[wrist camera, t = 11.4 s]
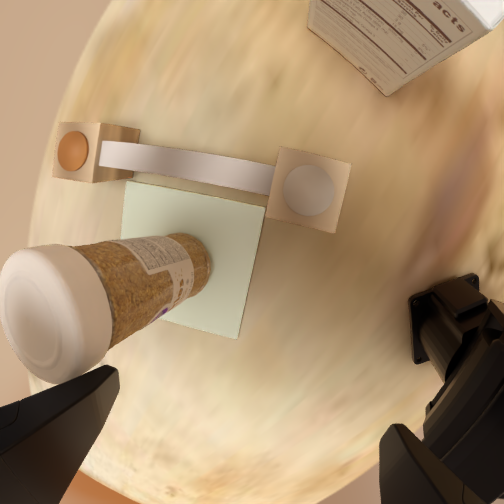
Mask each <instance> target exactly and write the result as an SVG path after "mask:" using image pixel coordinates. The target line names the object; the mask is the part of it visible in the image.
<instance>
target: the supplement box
mask: <svg viewBox="0 0 504 504" xmlns="http://www.w3.org/2000/svg"><path fill="white" fill-rule="evenodd" d="M503 19H504V0H310V3H309V13H308V23H307V27H308V28H309V29H310V30H312V31H313V32H314V33H315V34H317V35H318V36H319V37H320V38H322V39H323V40H324V41H325V42H327V43H328V44H329V45H330V46H331V47H333V48H334V49H335V50H336V51H338V52H339V53H340V54H341V55H342V56H343V57H344V58H346V59H347V60H348V61H349V62H350V63H351V64H352V65H353V66H355V67H356V68H357V69H358V70H359V71H360V72H361V73H362V74H363V75H364V76H365V77H366V78H367V79H368V80H370V81H371V82H372V83H373V84H374V85H375V86H376V87H377V88H378V89H379V90H380V91H381V92H382V93H383V94H384V95H385V96H389V95H391V94H392V93H394V92H395V91H396V90H398V89H399V88H401V87H402V86H404V85H405V84H407V83H408V82H410V81H411V80H413V79H414V78H416V77H418V76H419V75H421V74H422V73H424V72H426V71H427V70H429V69H430V68H432V67H434V66H435V65H437V64H438V63H440V62H442V61H443V60H445V59H447V58H448V57H450V56H452V55H454V54H455V53H457V52H459V51H460V50H462V49H464V48H465V47H467V46H469V45H470V44H472V43H473V42H475V41H477V40H478V39H480V38H481V37H483V36H484V35H486V34H488V33H489V32H491V31H492V30H493V29H494V28H495V27H496V26H497V25H498V24H499V23H500V22H501V21H502V20H503Z"/></svg>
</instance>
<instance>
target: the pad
mask: <svg viewBox="0 0 504 504" xmlns="http://www.w3.org/2000/svg"><path fill="white" fill-rule="evenodd" d="M265 210H266V207H262V206H258V205H253V204H249V203H244V202H239V201H235V200H230V199H225V198H220V197H215V196H210V195H205V194H200V193H195V192H190V191H184V190H179V189H174V188H168V187H163V186H157V185H151V184H146V183H140V182H134V181H126V188H125V196H124V206H123V216H122V227H121V239H129V238H138V237H147V236H167V235H169V234H174V233H185V234H189V235H191V236H193V237H195V238H196V239H197V240H199V241H200V242H201V243H202V244H203V246H204V247H205V249H206V251H207V253H208V256H209V258H210V265H211V271H210V276H209V279H208V282H207V284H206V285H205V287H204V288H203V290H202V291H200V292H199V293H198V294H197V295H195V296H193V297H190V298H187V299H186V300H184V301H183V302H182V303H181V304H180V305H178V306H177V307H175V308H173V309H172V310H170V311H169V312H167V313H165V314H164V315H162V316H161V317H159V319H163V320H166V321H169V322H173V323H176V324H180V325H183V326H187V327H190V328H194V329H197V330H201V331H205V332H209V333H212V334H216V335H220V336H224V337H228V338H232V339H236V340H237V338H238V334H239V329H240V325H241V320H242V316H243V311H244V307H245V302H246V297H247V293H248V288H249V284H250V279H251V274H252V270H253V265H254V261H255V256H256V251H257V247H258V242H259V238H260V233H261V228H262V224H263V219H264V214H265Z"/></svg>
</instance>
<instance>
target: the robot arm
mask: <svg viewBox="0 0 504 504" xmlns="http://www.w3.org/2000/svg"><path fill="white" fill-rule="evenodd" d="M473 279H474V281H473V282H472V280H473ZM416 300H417V302H416V304H413V303H414V301H416ZM408 304H409V314H410V326H411V339H412V359H413V361H414V363H415V364H421V363H424V362H426V361H429V360H430V361H431V362H432V364H433V366H434V367H435V369H436V371H437V372H438V374H439V376H440V377H441V379H442V381H443V383H444V385H443V386H442V388H441V389H440V391H439V392H438V394H437V395H436V396H435V398H434V399H433V400H432V401H430V402H429V404H428V405H427V406H426V418H425V421H424V424H423V431H424V438H423V439H422V442H421V441H420V440H419V439H418V438H417V437H416V436H415V435H414V434H413V433H412V432H411V431H410V430H409V429H408V428H407V427H406V426H405V425H404V424H392V425H390V427H389V428H388V429H387V431H386V432H385V434H384V435H383V436H382V438H381V440H380V443H379V483H380V494H381V504H491V503H492V502H494V501H495V500H496V499H504V303H501V302H499V301H496V300H493V299H490V302H489V303H488V299H487V298H486V297H485V296H484V295H483V294H481V293H480V292H479V277H478V276H477V275H476V274H474V273H472V274H470V275H467V276H465V277H462V278H461V277H458V278H456V279H453V280H450V281H448V282H445V283H442V284H440V285H437V286H435V287H434V288H433V289H430V290H427V291H425V292H422V293H419V294H416V295H413V296H412V297H411V298H410V299H409V302H408ZM419 357H420V358H419ZM418 358H419V359H418ZM119 389H120V383H119V373H118V370H117V369H116V368H114V367H112V366H109V365H103V366H101V367H99V368H97V369H94V370H92V371H90V372H87V373H85V374H83V375H80V376H78V377H76V378H73V379H71V380H68V381H66V382H64V383H61V384H59V385H56V386H54V387H52V388H49V389H47V390H44V391H42V392H39V393H37V394H34V395H32V396H29V397H27V398H24V399H22V400H21V401H16V402H14V403H11V404H8V405H5V406H2V407H0V504H59V502H60V501H61V499H62V497H63V495H64V493H65V492H66V490H67V488H68V486H69V485H70V483H71V481H72V479H73V478H74V476H75V474H76V473H77V471H78V469H79V467H80V466H81V464H82V462H83V461H84V459H85V457H86V455H87V454H88V452H89V450H90V449H91V447H92V445H93V444H94V442H95V440H96V439H97V437H98V435H99V434H100V432H101V430H102V428H103V426H104V424H105V422H106V420H107V417H108V415H109V413H110V411H111V408H112V406H113V404H114V402H115V399H116V397H117V395H118V393H119Z"/></svg>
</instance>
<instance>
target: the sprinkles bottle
mask: <svg viewBox="0 0 504 504" xmlns="http://www.w3.org/2000/svg"><path fill="white" fill-rule="evenodd" d="M210 271H211V265H210V258H209V256H208V253H207V251H206V249H205V247H204V246H203V244H202V243H201V242H200V241H199V240H197V239H196V238H195V237H193V236H191V235H189V234H185V233H174V234H169V235H167V236H147V237H138V238H129V239H120V240H110V241H104V242H99V243H97V244H91V245H82V246H75V247H73V246H64V245H60V244H52V245H43V246H37V247H30V248H24V249H21V250H18V251H16V252H15V253H14V254H12V255H11V256H10V257H9V258H8V259H7V261H6V262H5V264H4V266H3V268H2V271H1V274H0V318H1V322H2V326H3V329H4V331H5V334H6V336H7V339H8V341H9V343H10V345H11V347H12V349H13V350H14V352H15V353H16V355H17V356H18V358H19V359H20V361H21V362H22V363H23V364H24V365H25V366H26V368H27V369H28V370H29V371H30V372H32V373H33V374H34V375H35V376H37V377H38V378H40V379H42V380H44V381H46V382H49V383H52V384H61V383H64V382H66V381H68V380H71V379H73V378H76V377H78V376H80V375H82V374H84V373H85V372H87V371H88V370H90V369H91V368H92V367H94V366H95V365H97V364H98V363H99V362H100V361H101V360H102V359H103V358H104V356H105V354H106V353H107V351H108V350H109V349H111V348H112V347H113V346H114V345H116V344H118V343H119V342H121V341H123V340H124V339H126V338H127V337H128V336H130V335H132V334H133V333H135V332H136V331H138V330H141V329H143V328H144V327H146V326H147V325H149V324H150V323H152V322H153V321H155V320H156V319H158V318H159V317H161V316H162V315H164V314H165V313H167V312H169V311H170V310H172V309H173V308H175V307H177V306H178V305H180V304H181V303H182V302H183V301H184V300H186V299H187V298H190V297H193V296H195V295H197V294H198V293H199V292H200V291H202V290H203V288H204V287H205V285H206V284H207V282H208V279H209V276H210Z"/></svg>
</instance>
